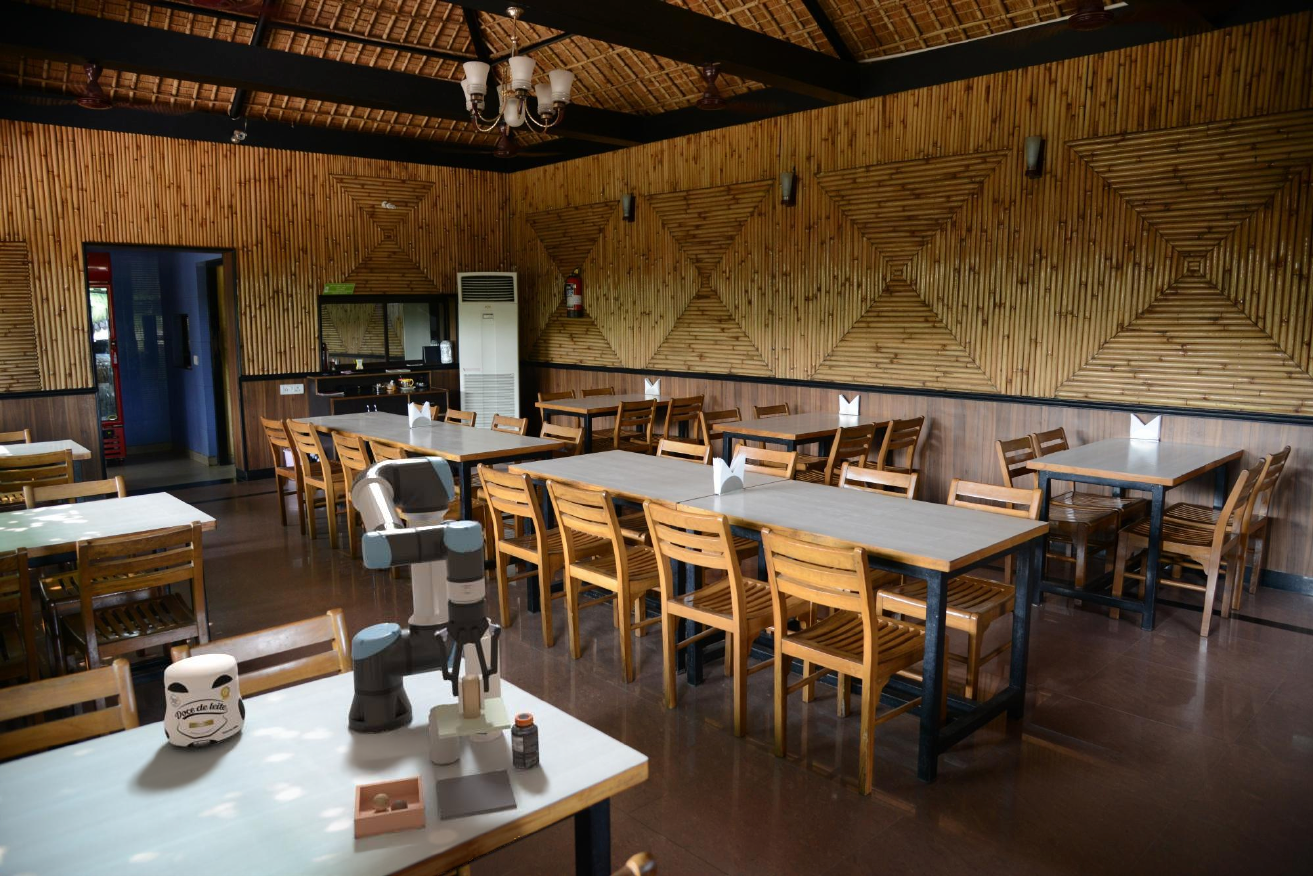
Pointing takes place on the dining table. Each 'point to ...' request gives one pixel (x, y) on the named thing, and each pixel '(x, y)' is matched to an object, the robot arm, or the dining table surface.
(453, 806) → the mat
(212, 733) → the doce de leite tub
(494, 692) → the bottle
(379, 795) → the ball beech
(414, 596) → the robot arm
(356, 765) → the dining table surface
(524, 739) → the pill bottle
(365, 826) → the dish
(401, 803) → the ball walnut
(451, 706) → the lid
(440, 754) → the beverage can
